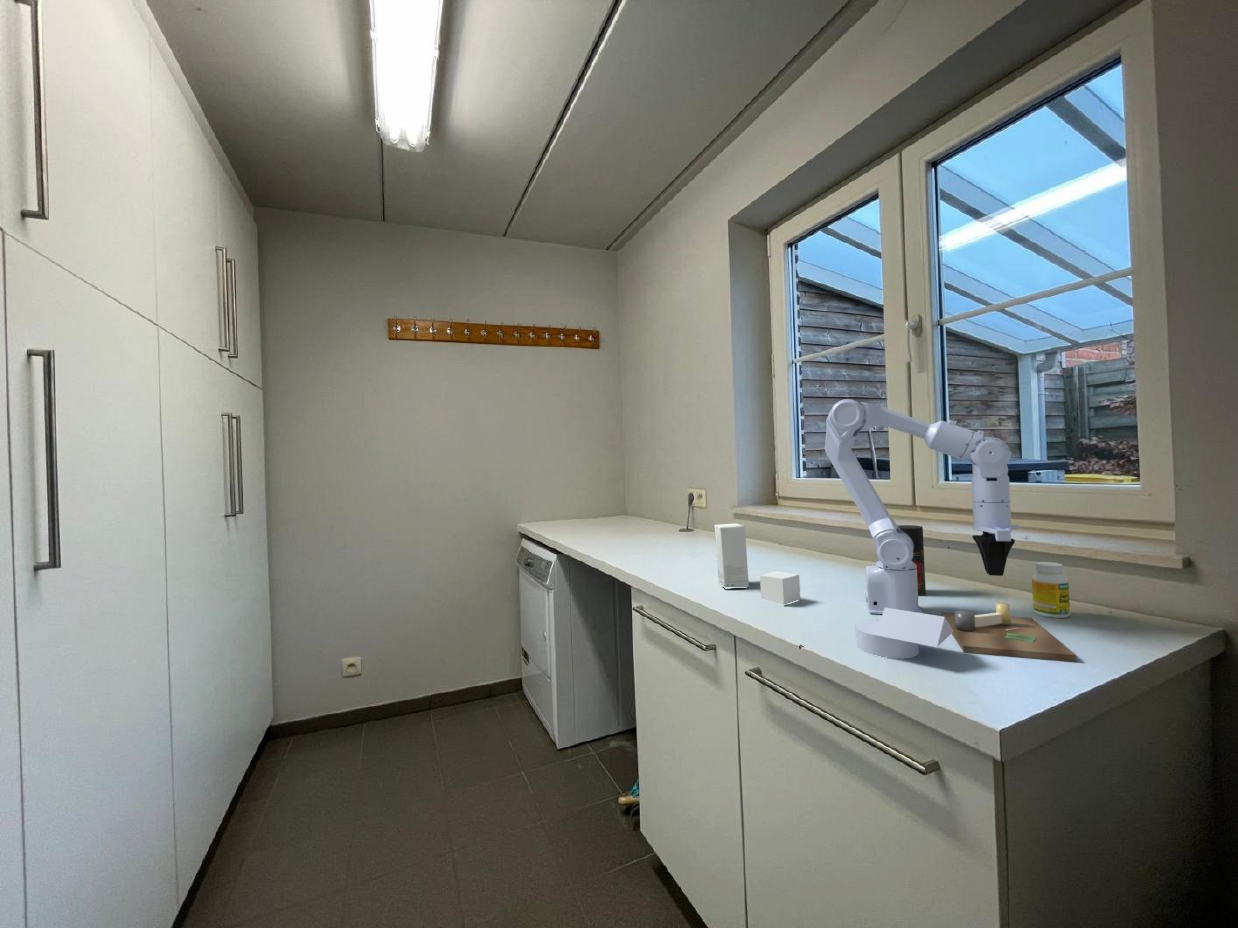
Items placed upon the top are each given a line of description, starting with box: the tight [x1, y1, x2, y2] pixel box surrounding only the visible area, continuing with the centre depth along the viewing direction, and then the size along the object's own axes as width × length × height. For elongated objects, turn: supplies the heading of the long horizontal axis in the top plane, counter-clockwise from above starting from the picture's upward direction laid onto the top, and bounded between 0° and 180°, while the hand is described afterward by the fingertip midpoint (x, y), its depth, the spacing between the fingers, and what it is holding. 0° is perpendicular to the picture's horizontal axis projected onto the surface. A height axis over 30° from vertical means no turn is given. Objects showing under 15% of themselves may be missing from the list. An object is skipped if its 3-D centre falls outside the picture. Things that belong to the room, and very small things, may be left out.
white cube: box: [759, 570, 801, 605], centre depth 115 cm, size 6×6×6 cm
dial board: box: [940, 611, 1078, 663], centre depth 87 cm, size 14×19×1 cm
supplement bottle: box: [1031, 561, 1071, 619], centre depth 97 cm, size 5×5×10 cm
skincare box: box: [714, 523, 750, 588], centre depth 131 cm, size 8×7×16 cm
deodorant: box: [897, 524, 927, 597], centre depth 117 cm, size 6×6×15 cm
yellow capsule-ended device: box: [954, 602, 1012, 631], centre depth 89 cm, size 10×3×3 cm, turn 102°
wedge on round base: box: [855, 608, 954, 660], centre depth 82 cm, size 9×7×13 cm
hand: (994, 574), depth 96 cm, fingers closed
